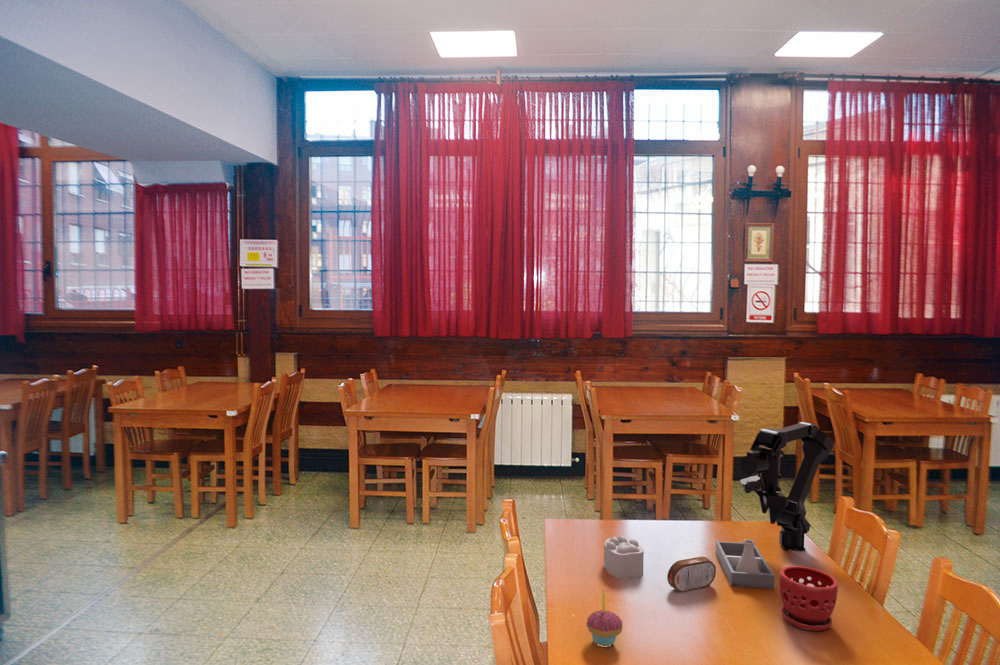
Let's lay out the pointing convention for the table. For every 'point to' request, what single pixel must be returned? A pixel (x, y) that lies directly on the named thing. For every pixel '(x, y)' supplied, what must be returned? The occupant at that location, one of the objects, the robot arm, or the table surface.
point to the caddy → (729, 560)
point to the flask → (748, 559)
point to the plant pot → (807, 597)
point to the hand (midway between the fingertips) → (768, 518)
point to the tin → (691, 574)
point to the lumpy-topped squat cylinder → (623, 557)
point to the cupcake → (604, 625)
